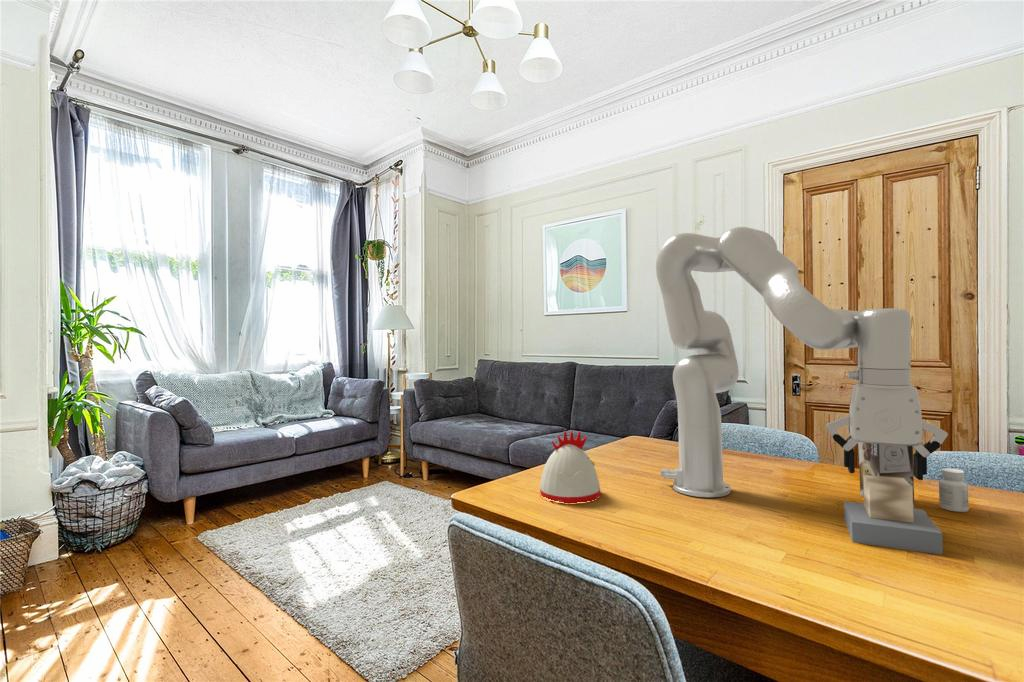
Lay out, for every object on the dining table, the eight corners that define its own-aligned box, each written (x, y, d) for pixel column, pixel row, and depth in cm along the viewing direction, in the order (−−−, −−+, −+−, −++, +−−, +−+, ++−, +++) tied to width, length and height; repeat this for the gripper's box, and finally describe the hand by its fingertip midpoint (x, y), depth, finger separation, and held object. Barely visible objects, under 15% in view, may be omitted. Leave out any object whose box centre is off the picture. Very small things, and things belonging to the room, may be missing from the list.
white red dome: (604, 504, 109) (602, 435, 109) (541, 505, 109) (539, 437, 109) (595, 485, 123) (593, 424, 123) (539, 486, 123) (537, 426, 123)
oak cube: (870, 517, 87) (869, 483, 87) (864, 507, 92) (863, 474, 92) (913, 522, 84) (912, 487, 84) (904, 511, 89) (903, 478, 89)
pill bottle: (963, 506, 101) (962, 468, 101) (972, 513, 97) (971, 474, 97) (936, 504, 103) (935, 466, 103) (943, 511, 99) (942, 472, 99)
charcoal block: (852, 545, 85) (851, 522, 85) (844, 521, 96) (843, 501, 96) (942, 558, 80) (942, 533, 80) (923, 531, 90) (923, 509, 90)
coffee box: (916, 509, 100) (914, 429, 100) (880, 508, 101) (878, 429, 101) (891, 495, 109) (889, 422, 109) (858, 494, 110) (856, 421, 110)
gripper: (827, 378, 89) (828, 474, 89) (953, 382, 80) (953, 487, 81) (824, 375, 95) (824, 464, 95) (940, 378, 87) (940, 475, 87)
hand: (883, 474), depth 88 cm, fingers open, 9 cm apart
